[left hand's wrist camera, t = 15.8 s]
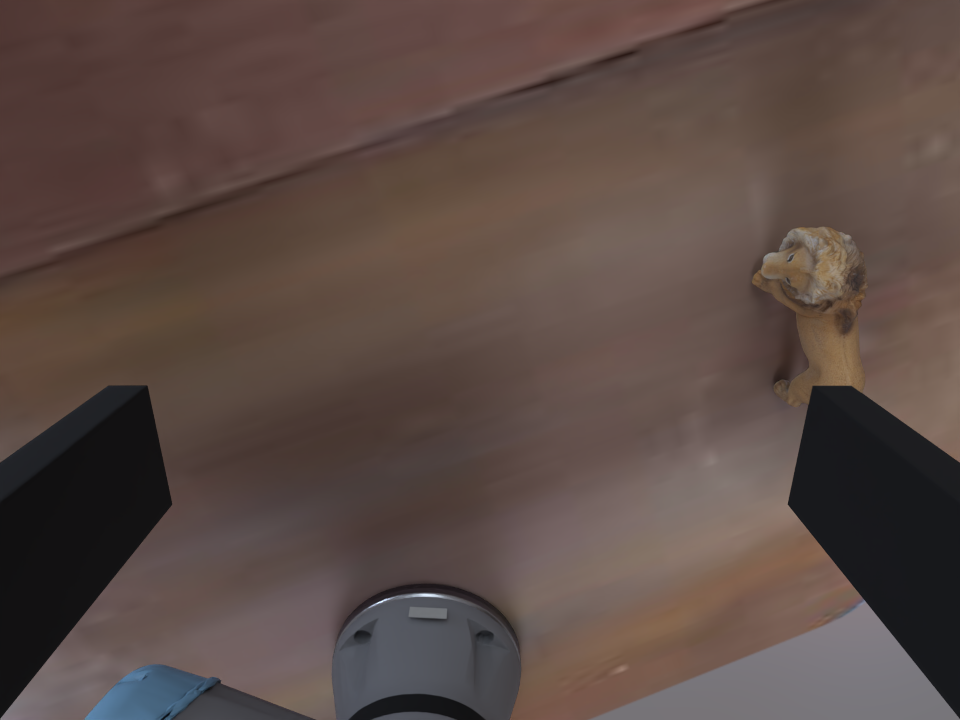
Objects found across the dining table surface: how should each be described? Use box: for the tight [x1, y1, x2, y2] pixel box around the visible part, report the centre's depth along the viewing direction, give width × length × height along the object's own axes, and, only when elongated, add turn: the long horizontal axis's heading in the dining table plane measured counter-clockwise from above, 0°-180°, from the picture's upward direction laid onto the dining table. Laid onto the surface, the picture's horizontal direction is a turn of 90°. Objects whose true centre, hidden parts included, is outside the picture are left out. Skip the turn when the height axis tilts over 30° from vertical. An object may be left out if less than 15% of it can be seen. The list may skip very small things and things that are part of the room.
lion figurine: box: [752, 227, 868, 407], centre depth 37 cm, size 15×5×9 cm, turn 27°
